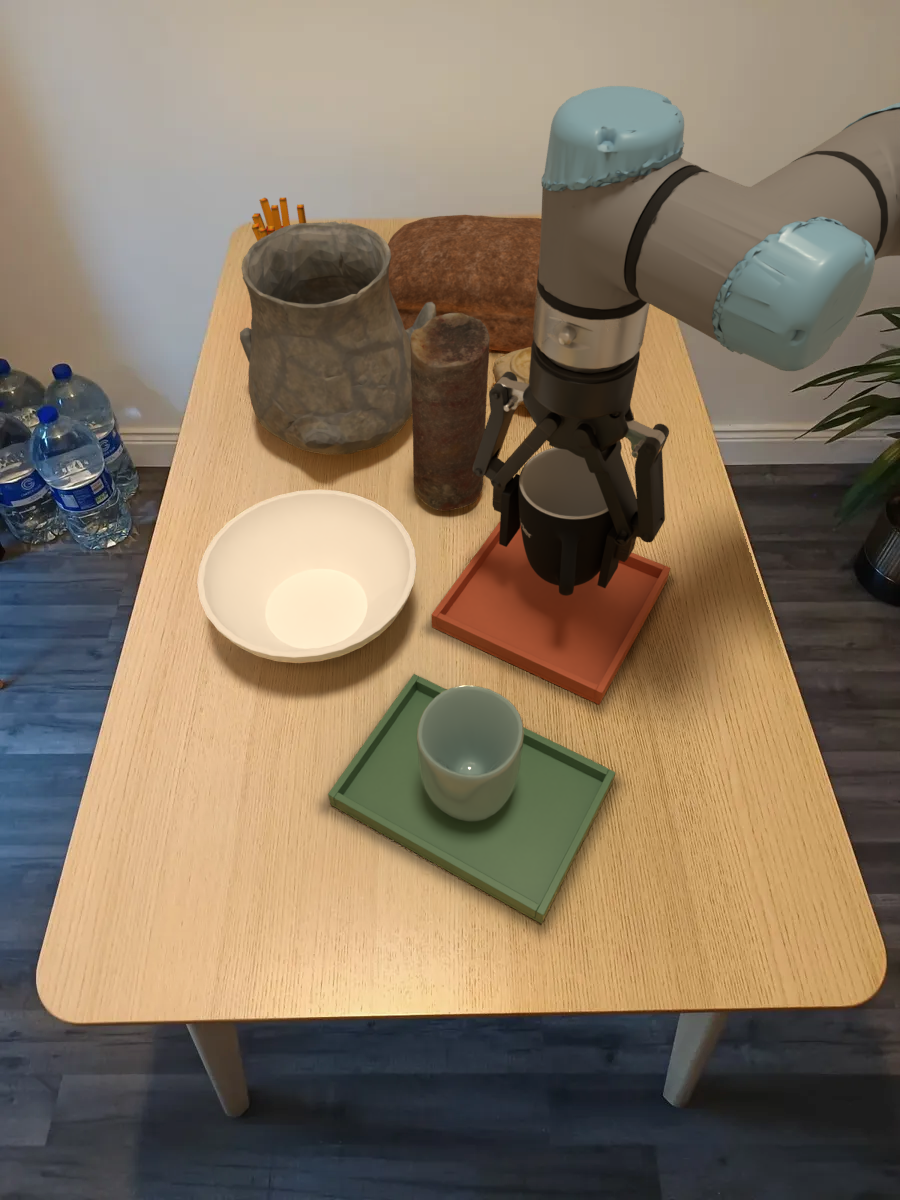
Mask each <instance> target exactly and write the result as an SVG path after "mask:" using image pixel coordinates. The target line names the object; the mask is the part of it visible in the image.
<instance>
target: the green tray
mask: <svg viewBox="0 0 900 1200" xmlns="http://www.w3.org/2000/svg"><path fill="white" fill-rule="evenodd" d="M445 690H448V689H447V688H444V687H442V686H441V685H438V684H436V683H434V682H432V681H430V680H428V679H426V678H424V677H422V676H420V675H418V674H416V673H413V674H412V676H411V677H410V679H409V680H408V681H407V683H406V684H405V685H404V687H403V688H402V690H401V691H400V692H399V694H398V695H397V696H396V698H395V699H394V701H393V702H392V704H391V705H390V706H389V708H388V709H387V711H386V712H385V713H384V715H383V716H382V718H381V719H380V721H379V722H378V723H377V725H376V726H375V727H374V729H373V730H372V732H371V733H370V734H369V736H368V737H367V738H366V740H365V741H364V743H363V744H362V745H361V747H360V748H359V750H358V751H357V753H356V754H355V755H354V757H353V758H352V760H350V762H349V764H348V765H347V766H346V768H345V769H344V770H343V772H342V773H341V775H340V777H339V778H338V779H337V781H336V782H335V783H334V785H333V786H332V788H331V789H330V790H329V791H328V793H327V796H328V800H329V803H330V806H332V807H334V808H336V809H337V810H339V811H341V812H342V813H345V814H346V815H348V816H350V817H352V818H353V819H355V820H357V821H358V822H360V823H362V824H364V825H365V826H368V827H369V828H370V829H373V830H374V831H377V832H378V833H380V834H381V835H383V836H385V837H387V838H389V839H390V840H392V841H394V842H396V843H398V844H399V845H401V846H403V847H404V848H406V849H408V850H410V851H412V852H414V853H415V854H417V855H419V856H421V857H422V858H424V859H426V860H428V861H430V862H431V863H433V864H435V865H436V866H438V867H440V868H442V869H444V870H445V871H447V872H449V873H451V874H452V875H454V876H456V877H458V878H459V879H461V880H464V881H465V882H466V883H468V884H470V885H472V886H474V887H475V888H477V889H478V890H481V891H482V892H485V893H486V894H488V895H489V896H491V897H493V898H495V899H497V900H498V901H500V902H502V903H504V904H506V906H508V907H511V908H513V909H514V910H516V911H518V912H519V913H521V914H523V915H524V916H527V917H528V918H530V919H532V920H534V921H535V922H538V923H539V924H543V922H544V920H545V918H546V916H547V914H548V913H549V910H550V908H551V907H552V904H553V903H554V901H555V899H556V896H557V894H558V893H559V890H560V888H561V887H562V885H563V882H564V881H565V879H566V877H567V874H568V873H569V870H570V869H571V867H572V865H573V862H574V861H575V858H576V857H577V854H578V853H579V851H580V849H581V847H582V845H583V843H584V841H585V840H586V839H585V838H586V837H587V835H588V833H589V831H590V829H591V827H592V825H593V823H594V821H595V819H596V817H597V815H598V813H599V811H600V809H601V807H602V805H603V803H604V801H605V799H606V797H607V795H608V793H609V791H610V789H611V787H612V785H613V783H614V780H615V776H616V771H614V770H612V769H609V768H608V767H606V766H604V765H602V764H600V763H598V762H596V761H594V760H592V759H590V758H588V757H585V756H584V755H582V754H579V753H577V752H576V751H574V750H571V749H569V748H567V747H565V746H563V745H561V744H559V743H557V742H555V741H552V740H551V739H549V738H547V737H544V736H543V735H540V734H539V733H537V732H535V731H532V730H530V729H529V728H527V727H524V726H523V731H524V741H523V750H522V758H521V764H520V770H519V775H518V779H517V782H516V785H515V787H514V790H513V792H512V794H511V796H510V798H509V799H508V801H507V803H506V804H505V805H504V806H503V808H502V809H501V810H500V811H499V812H497V813H496V814H495V815H494V816H492V817H490V818H488V819H486V820H483V821H478V822H466V821H461V820H458V819H455V818H452V817H450V816H448V815H446V814H445V813H443V812H442V811H441V810H439V809H438V808H437V807H436V806H435V805H434V804H433V803H432V801H431V800H430V799H429V797H428V795H427V793H426V791H425V789H424V787H423V783H422V779H421V775H420V770H419V764H418V754H417V729H418V725H419V721H420V719H421V716H422V714H423V712H424V710H425V709H426V707H427V706H428V704H429V703H430V702H431V701H432V700H433V699H434V698H435V697H436V696H437V695H439V694H440V693H442V692H443V691H445Z"/></svg>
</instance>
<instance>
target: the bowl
mask: <svg viewBox="0 0 900 1200" xmlns="http://www.w3.org/2000/svg"><path fill="white" fill-rule="evenodd" d="M416 556H417V555H416V549H415V547H414V544H413V540H412V538H411V535H410V534H409V532H408V531H407V529H406V528H405V526H404V525H403V523H402V522H401V520H399V519H398V518H397V517H396V516H395V515H394V514H393V513H392V512H391V511H389V510H388V509H387V508H385V507H384V506H382V505H380V504H379V503H377V502H375V501H373V500H371V499H369V498H366V497H363V496H361V495H359V494H355V493H350V492H345V491H342V490H335V489H321V488H319V489H318V488H317V489H305V490H303V489H302V490H296V491H292V492H287V493H282V494H277V495H275V496H272V497H269V498H266V499H264V500H261V501H259V502H257V503H255V504H253V505H251V506H250V507H247V508H246V509H244V510H242V511H241V512H239V513H238V514H237V515H236V516H234V517H233V518H231V519H230V520H229V521H227V522H226V523H225V525H223V526H222V527H221V529H219V531H218V532H216V534H215V535H214V536H213V538H212V539H211V541H210V542H209V544H208V545H207V547H206V548H205V551H204V553H203V556H202V557H201V561H200V564H199V566H198V572H197V579H196V580H197V581H196V582H197V583H196V587H197V593H198V599H199V602H200V605H201V606H202V609H203V611H204V613H205V616H206V617H207V619H208V620H209V621H210V622H211V624H212V625H213V626H214V627H215V628H216V630H217V631H218V632H219V633H220V634H221V635H222V636H223V637H225V638H226V639H227V640H229V641H230V642H231V643H233V644H234V645H235V646H236V647H239V648H240V649H242V650H244V651H246V652H248V653H250V654H253V655H254V656H256V657H260V658H263V659H267V660H270V661H274V662H279V663H293V664H305V663H315V662H323V661H327V660H331V659H335V658H339V657H342V656H345V655H347V654H349V653H352V652H355V651H356V650H359V649H361V648H363V647H364V646H366V645H367V644H369V643H371V642H372V641H373V640H375V639H376V638H378V637H379V636H381V634H383V633H384V631H386V630H387V629H388V628H389V627H390V626H391V625H392V624H393V623H394V621H395V620H396V619H397V617H398V616H399V614H400V613H401V611H402V610H403V608H405V606H406V604H407V601H408V599H409V597H410V595H411V592H412V590H413V587H414V584H415V577H416V573H417V557H416Z"/></svg>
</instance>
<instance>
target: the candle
mask: <svg viewBox="0 0 900 1200" xmlns="http://www.w3.org/2000/svg"><path fill="white" fill-rule="evenodd" d="M489 342H490V337H489V333H488V330H487V328H486V326H485V325H484V324H483V323H482V322H481V320H479V319H476V318H474V317H471V316H468V315H465V314H463V313H449V314H444V315H441V316H436V317H434V318H432V319H430V320H428V321H427V322H426V323H425V324H424V325H423V326H422V327H421V328H419V329H416V330H414V331H413V333H412V334H411V337H410V351H411V384H412V415H411V418H412V467H413V469H412V471H413V489H414V493H415V495H416V496H417V497H418V498H419V499H420V500H421V501H422V503H424V504H426V505H427V506H428V507H430V508H431V509H434V510H436V511H443V512H445V511H446V512H450V511H453V510H456V509H461V508H465V507H467V506H468V507H469V506H471V505H473V504H474V503H475V502H476V501H477V500H478V498H480V496H481V494H482V491H483V488H484V476H483V477H479V476H477V475H475V474H474V472H473V470H472V468H473V465H474V462H475V459H476V456H477V452H478V449H479V446H480V443H481V440H482V437H483V434H484V431H485V428H486V424H487V421H486V419H487V399H488V398H487V397H488V396H487V395H488V380H489V379H488V378H489V360H490V349H489Z"/></svg>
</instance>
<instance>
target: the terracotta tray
mask: <svg viewBox="0 0 900 1200" xmlns="http://www.w3.org/2000/svg"><path fill="white" fill-rule="evenodd" d="M499 537H500V521H499V522H498V523H497V524H496V526H495V527H494V529H492V531H491V533H490V534H489V535H488V537H487V538H486V540H485V541H484V542H483V544H482V545H481V546H480V547H479V549H478V550H477V552H476V553H475V554H474V556H473V557H472V559H471V560H470V561H469V562H468V564H467V565H466V567H465V568H464V569H463V571H462V572H461V574H460V575H459V576H458V577H457V579H456V580H455V582H453V584H452V586H451V587H450V588H449V590H448V591H447V593H446V594H445V595H444V596H443V598H442V599H441V600H440V602H439V603H438V604H437V606H436V607H435V609H434V610H433V611H432V613H431V615H430V616H431V627H432V628H433V629H435V630H438V631H439V632H442V633H444V634H446V635H448V636H451V637H453V638H455V639H456V640H459V641H461V642H464V643H465V644H468V645H470V646H471V647H474V648H476V649H478V650H481V651H483V652H485V653H487V654H489V655H491V656H493V657H496V658H498V659H500V660H501V661H504V662H506V663H509V664H510V665H512V666H514V667H517V668H519V669H522V670H523V671H525V672H528V673H530V674H532V675H534V676H536V677H539V678H541V679H543V680H545V681H547V682H549V683H552V684H554V685H556V686H558V687H560V688H562V689H565V690H567V691H569V692H571V693H573V694H575V695H577V696H579V697H582V698H584V699H586V700H588V701H590V702H592V703H594V704H597V705H601V703H602V701H603V700H604V697H605V695H606V694H607V692H608V690H609V688H610V687H611V685H612V683H613V681H614V679H615V677H616V675H617V674H618V672H619V670H620V668H621V666H622V665H623V663H624V660H625V659H626V657H627V655H628V654H629V652H630V650H631V648H632V647H633V644H634V642H635V641H636V638H637V637H638V635H639V633H640V631H641V629H642V628H643V626H644V624H645V622H646V620H647V619H648V617H649V615H650V613H651V612H652V609H653V608H654V606H655V604H656V603H657V600H658V598H659V597H660V595H661V593H662V591H663V589H664V588H665V585H666V584H667V582H668V579H669V576H670V572H671V567H669V566H667V565H665V564H662V563H660V562H657V561H654V560H652V559H649V558H647V557H645V556H642V555H640V554H636V553H634V552H633V551H632V552H631V554H630V556H629V557H628V559H627V560H626V561H625V562H622V561H620V560H619V564H618V568H617V570H616V571H615V573H614V575H613V576H612V578H611V580H610V581H609V583H608V585H607V586H606V588H603V587H601V586H598V585H597V584H598V579H599V574H600V572H599V573H598V574H597V575H596V576H595V577H594V578H592V579H591V580H589V581H588V582H586V583H584V584H581V585H577V586H574V591H573V593H572V594H571V595H568V596H565V595H561V594H560V593H559V586H558V585H554V584H551V583H549V582H547V581H545V580H543V579H542V578H541V577H539V576H538V575H537V574H536V572H535V571H534V570H533V568H532V567H531V565H530V563H529V561H528V558H527V555H526V552H525V548H524V544H523V539H522V532H521V524H520V529H519V530H518V532H517V533H516V534H515V536H514V537H513V539H512V540H511V541H510V543H509V544H508V546H507V547H505V546H503V545H500V544H499Z"/></svg>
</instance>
